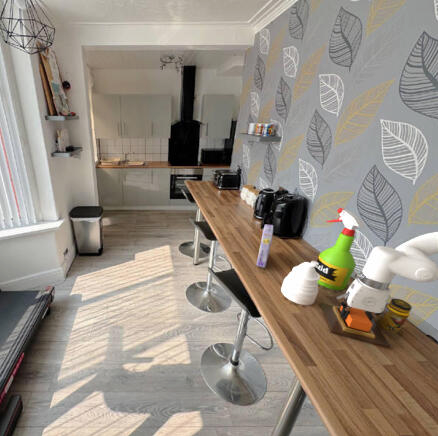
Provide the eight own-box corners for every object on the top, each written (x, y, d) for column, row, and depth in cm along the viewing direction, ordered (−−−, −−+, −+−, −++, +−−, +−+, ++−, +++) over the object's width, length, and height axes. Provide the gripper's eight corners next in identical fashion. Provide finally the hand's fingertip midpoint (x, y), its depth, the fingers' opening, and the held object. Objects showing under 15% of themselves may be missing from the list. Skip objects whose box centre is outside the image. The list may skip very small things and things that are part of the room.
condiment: (396, 337, 85) (412, 312, 80) (366, 321, 91) (380, 297, 87) (402, 329, 88) (418, 305, 84) (374, 314, 95) (387, 290, 90)
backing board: (368, 316, 93) (371, 312, 92) (389, 348, 80) (392, 343, 79) (319, 304, 98) (321, 300, 97) (330, 332, 85) (333, 327, 84)
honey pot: (321, 299, 101) (336, 265, 94) (302, 308, 96) (316, 272, 88) (293, 282, 111) (304, 249, 104) (274, 289, 106) (285, 255, 99)
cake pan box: (258, 249, 138) (265, 222, 131) (267, 252, 136) (275, 224, 129) (254, 266, 122) (262, 236, 115) (265, 269, 120) (273, 238, 113)
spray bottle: (320, 266, 125) (344, 204, 111) (353, 288, 108) (386, 219, 94) (298, 268, 122) (320, 205, 108) (328, 291, 106) (359, 221, 92)
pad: (358, 314, 91) (361, 307, 90) (368, 332, 83) (372, 324, 82) (339, 309, 93) (342, 302, 92) (348, 326, 85) (352, 319, 84)
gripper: (348, 280, 80) (330, 319, 87) (412, 294, 75) (388, 334, 82) (340, 268, 87) (324, 306, 94) (399, 280, 81) (377, 319, 89)
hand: (354, 319), depth 88 cm, fingers closed on pad, 5 cm apart
